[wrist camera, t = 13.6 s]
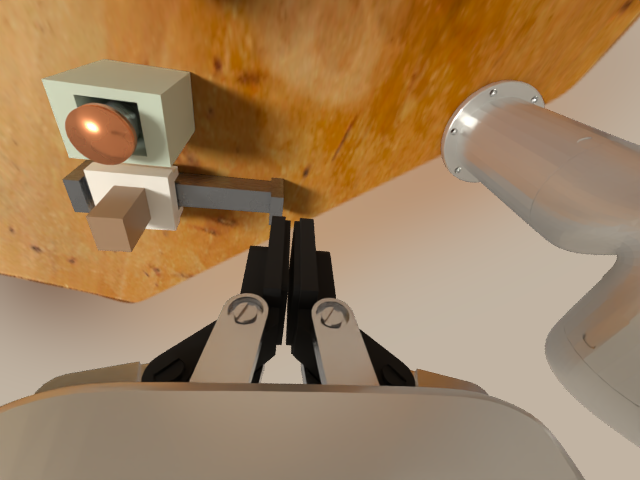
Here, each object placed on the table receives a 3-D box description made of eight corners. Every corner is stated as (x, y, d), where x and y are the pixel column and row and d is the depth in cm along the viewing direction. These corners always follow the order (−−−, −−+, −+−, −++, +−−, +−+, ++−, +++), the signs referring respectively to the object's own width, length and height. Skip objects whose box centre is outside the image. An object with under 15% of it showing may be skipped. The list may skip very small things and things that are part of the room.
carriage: (177, 162, 35) (148, 207, 28) (183, 212, 40) (160, 264, 32) (101, 154, 34) (48, 199, 26) (116, 207, 38) (74, 260, 30)
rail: (283, 178, 40) (283, 197, 36) (280, 205, 42) (281, 225, 38) (86, 160, 36) (62, 179, 32) (95, 190, 38) (74, 211, 34)
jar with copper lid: (150, 93, 26) (125, 110, 22) (158, 143, 29) (137, 167, 24) (93, 85, 25) (55, 102, 21) (107, 137, 28) (76, 162, 24)
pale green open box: (190, 72, 31) (160, 95, 23) (195, 130, 35) (170, 167, 27) (103, 59, 30) (41, 78, 22) (118, 121, 33) (69, 157, 26)
